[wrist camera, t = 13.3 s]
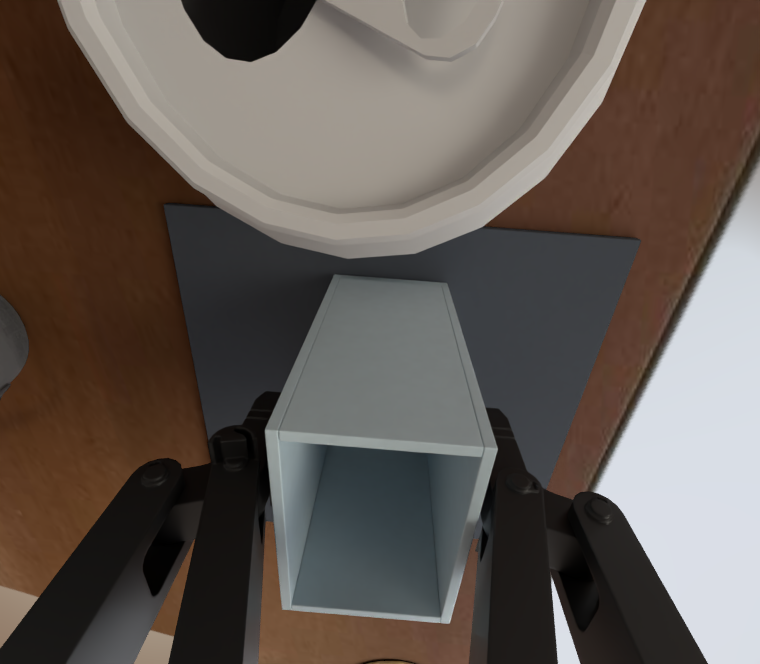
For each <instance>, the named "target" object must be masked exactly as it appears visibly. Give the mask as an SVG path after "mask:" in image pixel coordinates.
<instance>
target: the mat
mask: <svg viewBox="0 0 760 664" xmlns="http://www.w3.org/2000/svg"><path fill="white" fill-rule="evenodd" d="M164 210H165V215H166V221H167V226H168V231H169V236H170V242H171V247H172V252H173V257H174V263H175V268H176V273H177V278H178V284H179V289H180V294H181V299H182V305H183V310H184V315H185V320H186V326H187V331H188V336H189V341H190V347H191V352H192V357H193V362H194V368H195V373H196V378H197V383H198V389H199V394H200V399H201V404H202V410H203V415H204V420H205V425H206V430H207V436H208V441H209V439H210V438H211V436H212V435H213V434H215V433H216V432H217V431H218V430H220V429H223V428H225V427H228V426H233V425H242V424H243V422H244V420H245V419H246V416H247V414H248V413H249V411H250V409H251V407H252V405H253V403H254V401H255V399H256V398H258V397H259V396H260V395H261V394H263V393H264V392H265V391H273V392H282V390H283V388H284V386H285V384H286V381H287V379H288V377H289V375H290V372H291V370H292V368H293V366H294V363H295V361H296V359H297V357H298V354H299V352H300V350H301V348H302V346H303V343H304V341H305V339H306V337H307V334H308V332H309V330H310V328H311V325H312V323H313V321H314V319H315V316H316V314H317V312H318V310H319V308H320V305H321V303H322V301H323V299H324V296H325V294H326V292H327V290H328V287H329V285H330V283H331V281H332V279H333V276H334V275H335V274H336V275H349V276H362V277H375V278H389V279H402V280H415V281H428V282H440V283H447V284H448V288H449V291H450V294H451V297H452V301H453V304H454V307H455V310H456V314H457V317H458V320H459V324H460V327H461V330H462V333H463V337H464V340H465V343H466V346H467V350H468V353H469V356H470V360H471V363H472V366H473V369H474V373H475V376H476V379H477V383H478V386H479V389H480V392H481V396H482V399H483V402H484V405H485V408H498V409H500V410H501V412H502V413H503V414H504V415H505V416H506V417H507V418H508V420H509V423H510V426H511V428H512V431H513V434H514V436H515V440H516V442H517V444H518V447H519V450H520V453H521V455H522V458H523V461H524V463H525V466H526V469H527V471H528V472H529V473H530V474H532V475H533V476H535V477H536V478H537V480H538V481H539V482H540V483H541V486H542V488H544V489H545V490H546V488H547V486H548V483H549V481H550V478H551V475H552V473H553V470H554V467H555V465H556V462H557V460H558V457H559V454H560V452H561V449H562V447H563V444H564V441H565V439H566V436H567V433H568V431H569V428H570V426H571V423H572V420H573V418H574V415H575V413H576V410H577V407H578V405H579V402H580V399H581V397H582V394H583V392H584V389H585V386H586V384H587V381H588V378H589V376H590V373H591V371H592V368H593V365H594V363H595V360H596V358H597V355H598V352H599V350H600V347H601V344H602V342H603V339H604V337H605V334H606V331H607V329H608V326H609V324H610V321H611V318H612V316H613V313H614V310H615V308H616V305H617V303H618V300H619V297H620V295H621V292H622V290H623V287H624V284H625V282H626V279H627V276H628V274H629V271H630V269H631V266H632V263H633V261H634V258H635V256H636V253H637V250H638V248H639V245H640V242H641V240H640V239H637V238H630V237H617V236H604V235H590V234H577V233H564V232H550V231H537V230H524V229H510V228H497V227H484V226H483V227H481V228H479V229H476V230H474V231H471V232H469V233H466V234H464V235H461V236H459V237H456V238H454V239H451V240H448V241H446V242H443V243H441V244H438V245H436V246H433V247H431V248H428V249H426V250H423V251H421V252H418V253H416V254H405V255H391V256H378V257H365V258H351V259H347V258H342V257H338V256H334V255H330V254H325V253H321V252H317V251H313V250H308V249H304V248H300V247H295V246H291V245H287V244H283V243H280V242H278V241H277V240H275V239H273V238H271V237H269V236H268V235H266V234H264V233H262V232H261V231H259V230H257V229H255V228H254V227H252V226H250V225H248V224H247V223H245V222H243V221H241V220H240V219H238V218H236V217H234V216H233V215H231V214H229V213H227V212H226V211H224V210H222V209H220V208H219V207H217V206H204V205H190V204H177V203H166V204H164ZM265 516H266V521H271V522H274V521H273V511H272V506H270V497H269V498H268V500H267V503H266V506H265ZM482 526H483V524H482V519H481V514H480V515H479V518H478V522H477V526H476V529H475V533H474V537H473V538H475V539H479V536H480V533H481V530H482Z"/></svg>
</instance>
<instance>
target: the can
mask: <svg viewBox="0 0 760 664" xmlns="http://www.w3.org/2000/svg"><path fill="white" fill-rule="evenodd" d="M57 1H58V4H59V6H60V9H61V12H62V14H63V17H64V20H65V23H66V25H67V28H68V30H69V31H70V33H71V35H72V36H73V38H74V39H75V41H76V43H77V44H78V46H79V47H80V49H81V50H82V52H83V54H84V55H85V57H86V58H87V60H88V61H89V63H90V65H91V66H92V68H93V69H94V71H95V73H96V74H97V76H98V77H99V79H100V80H101V82H102V84H103V85H104V87H105V88H106V90H107V91H108V93H109V95H110V96H111V98H112V99H113V101H114V103H115V104H116V106H117V107H118V109H119V110H120V112H121V114H122V115H123V117H124V118H125V120H126V121H127V123H128V124H129V125H130V126H131V127H132V128H133V129H134V130H135V131H136V132H137V133H138V134H139V135H140V136H141V137H142V138H143V139H144V140H145V141H146V142H147V143H148V144H149V145H150V146H152V147H153V148H154V149H155V150H156V151H157V152H158V153H159V154H160V155H161V156H162V157H163V158H164V159H165V160H166V161H167V162H168V163H169V164H170V165H171V166H172V167H173V168H174V169H175V170H176V171H177V172H178V173H179V174H180V175H181V176H182V177H183V178H184V179H185V180H186V181H187V182H188V183H189V184H190V185H191V186H192V187H193V188H194V189H196V190H198V191H200V192H201V193H203V194H205V195H206V196H207V197H208V198H209V199H210V200H211V201H212V202H213V203H214V204H215V205H216V206H217V207H219V208H220V209H222V210H224V211H226V212H227V213H229V214H231V215H233V216H234V217H236V218H238V219H240V220H241V221H243V222H245V223H247V224H248V225H250V226H252V227H254V228H255V229H257V230H259V231H261V232H262V233H264V234H266V235H268V236H269V237H271V238H273V239H275V240H277V241H278V242H280V243H283V244H287V245H291V246H295V247H300V248H304V249H308V250H313V251H317V252H321V253H325V254H330V255H334V256H338V257H342V258H347V259H351V258H365V257H378V256H391V255H405V254H416V253H418V252H421V251H423V250H426V249H428V248H431V247H433V246H436V245H438V244H441V243H443V242H446V241H448V240H451V239H454V238H456V237H459V236H461V235H464V234H466V233H469V232H471V231H474V230H476V229H479V228H481V227H483V226H484V225H485V224H487V223H488V222H489V221H490V220H492V219H493V218H494V217H496V216H497V215H498V214H499V213H501V212H502V211H503V210H504V209H506V208H507V207H508V206H510V205H511V204H512V203H513V202H515V201H516V200H517V199H519V198H520V197H521V196H522V195H524V194H525V193H526V192H528V191H529V190H530V189H531V188H533V187H534V186H535V185H536V184H538V183H539V182H540V181H542V180H543V179H544V178H545V177H546V176H547V175H548V173H549V172H550V171H551V169H552V168H553V167H554V165H555V164H556V163H557V161H558V160H559V159H560V157H561V156H562V155H563V153H564V152H565V151H566V149H567V148H568V147H569V145H570V144H571V143H572V142H573V140H574V139H575V138H576V136H577V135H578V134H579V132H580V131H581V130H582V128H583V127H584V126H585V124H586V123H587V122H588V120H589V119H590V118H591V116H592V115H593V114H594V112H595V111H596V110H597V108H598V107H599V106H600V104H601V103H602V101H603V99H604V97H605V94H606V92H607V90H608V87H609V85H610V83H611V80H612V78H613V76H614V74H615V71H616V69H617V67H618V64H619V62H620V60H621V57H622V55H623V53H624V50H625V48H626V46H627V43H628V41H629V39H630V36H631V34H632V32H633V29H634V27H635V25H636V22H637V20H638V18H639V15H640V13H641V11H642V8H643V6H644V4H645V2H646V0H57Z"/></svg>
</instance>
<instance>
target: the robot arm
mask: <svg viewBox="0 0 760 664" xmlns="http://www.w3.org/2000/svg"><path fill="white" fill-rule="evenodd" d="M280 395H281V392H273V391H265V392H264V393H263V394H261V395H260V396H259V397H258V398H256V399H255V401H254V403H253V405H252V407H251V409H250V411H249V413H248V414H247V416H246V419H245V420H244V422H243V424H242V425H233V426H228V427H225V428H223V429H220V430H218V431H217V432H216V433H215V434H213V435H212V436H211V438H210V439H209V441H208V448H209V453H210V458H211V463H209V464H205V465H201V466H196V467H190V468H184V469H182V468H181V464H180V463H178V462H177V461H176V460H173V459H169V458H164V459H157V460H153V461H150V462H148V463H146V464H144V465H143V466H141V467H139V468H138V469H137V470H136V471H135V472H134V473H133V474H132V475H131V476H130V478H129V479H128V480H127V482H126V483H125V484H124V486H123V487H122V488H121V490H120V491H119V492H118V494H117V495H116V496H115V498H114V499H113V500H112V502H111V503H110V504H109V505H108V507H107V508H106V509H105V511H104V512H103V513H102V515H101V516H100V517H99V519H98V520H97V521H96V523H95V524H94V525H93V527H92V528H91V529H90V531H89V532H88V533H87V535H86V536H85V537H84V539H83V540H82V541H81V543H80V544H79V545H78V547H77V548H76V549H75V550H74V552H73V553H72V554H71V556H70V557H69V558H68V560H67V561H66V562H65V564H64V565H63V566H62V568H61V569H60V570H59V572H58V573H57V574H56V576H55V577H54V578H53V580H52V581H51V582H50V584H49V585H48V586H47V588H46V589H45V590H44V592H43V593H42V594H41V596H40V597H39V598H38V600H37V601H36V602H35V603H34V605H33V606H32V608H31V609H30V610H29V611H28V613H27V614H26V615H25V617H24V618H23V619H22V621H21V622H20V623H19V625H18V626H17V627H16V629H15V630H14V631H13V633H12V634H11V635H10V637H9V638H8V639H7V641H6V642H5V643H4V644H3V646H2V647H1V648H0V664H134V662H135V660H136V658H137V655H138V653H139V651H140V649H141V647H142V645H143V643H144V641H145V639H146V637H147V635H148V633H149V631H150V629H151V627H152V625H153V623H154V621H155V619H156V617H157V614H158V612H159V610H160V608H161V606H162V604H163V602H164V600H165V598H166V596H167V594H168V592H169V590H170V588H171V586H172V584H173V581H174V579H175V577H176V575H177V573H178V571H179V569H180V567H181V565H182V563H183V561H184V559H185V557H186V555H187V553H188V551H189V549H190V546H191V544H192V542H193V540H194V539H195V543H194V548H193V553H192V557H191V562H190V566H189V571H188V576H187V580H186V585H185V589H184V594H183V598H182V603H181V608H180V612H179V617H178V621H177V626H176V631H175V635H174V640H173V645H172V649H171V654H170V658H169V663H168V664H258V655H259V636H260V617H261V598H262V579H263V560H264V541H265V522H266V516H265V506H266V503H267V500H268V498H269V497H270V506H272V501H271V490H270V480H269V470H268V460H267V449H266V439H265V428H266V426H267V424H268V421H269V419H270V417H271V415H272V413H273V410H274V408H275V406H276V404H277V401H278V399H279V397H280ZM485 409H486V412H487V415H488V419H489V422H490V425H491V428H492V432H493V435H494V438H495V441H496V445H497V448H498V450H497V453H496V457H495V461H494V464H493V468H492V472H491V475H490V479H489V482H488V486H487V490H486V493H485V497H484V500H483V504H482V508H481V511H480V514H481V519H482V524H483V526H482V530H481V533H480V536H479V540H478V543H477V547H476V550H475V551H477V552H478V563H477V574H476V586H475V598H474V610H473V622H472V634H471V645H470V657H469V664H558V660H557V648H556V636H555V625H554V613H553V600H552V588H551V577H550V572H551V575H552V578H553V581H554V584H555V587H556V590H557V593H558V596H559V599H560V602H561V605H562V608H563V612H564V615H565V617H566V621H567V624H568V627H569V630H570V633H571V636H572V639H573V642H574V645H575V648H576V651H577V654H578V657H579V661H580V663H581V664H708V663H707V661H706V659H705V658H704V656H703V654H702V652H701V651H700V649H699V647H698V645H697V643H696V642H695V640H694V638H693V636H692V635H691V633H690V631H689V629H688V627H687V626H686V624H685V622H684V620H683V619H682V617H681V615H680V613H679V612H678V610H677V608H676V606H675V604H674V603H673V601H672V599H671V597H670V596H669V594H668V592H667V590H666V589H665V587H664V585H663V584H662V581H661V580H660V578H659V576H658V574H657V573H656V571H655V569H654V567H653V566H652V564H651V562H650V560H649V558H648V557H647V555H646V553H645V551H644V550H643V548H642V546H641V544H640V543H639V541H638V539H637V537H636V535H635V534H634V532H633V530H632V528H631V527H630V525H629V523H628V521H627V519H626V518H625V516H624V514H623V513H622V511H621V510H620V509H619V508H618V506H617V505H616V504H614V503H613V502H612V501H611V500H609V499H608V498H606V497H604V496H602V495H600V494H597V493H593V492H580V493H579V494H577V495H575V497H574V499H573V500H572V499H569V498H566V497H563V496H560V495H557V494H554V493H552V492H549V491H547V490H545V489H544V488H542V486H541V483H540V482H539V481H538V480H537V478H536V477H535V476H533V475H532V474H530V473H529V472H528V471H527V469H526V466H525V463H524V461H523V458H522V455H521V453H520V450H519V447H518V444H517V442H516V440H515V436H514V434H513V431H512V428H511V426H510V423H509V420H508V418H507V417H506V416H505V415H504V414H503V413H502V412H501V410H500V409H498V408H485Z"/></svg>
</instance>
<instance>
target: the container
mask: <svg viewBox="0 0 760 664" xmlns="http://www.w3.org/2000/svg"><path fill="white" fill-rule="evenodd" d="M265 439H266V449H267V460H268V470H269V480H270V490H271V501H272V511H273V521H274V531H275V542H276V552H277V562H278V572H279V582H280V593H281V603H282V609H283V610H295V611H306V612H318V613H330V614H342V615H353V616H365V617H377V618H388V619H400V620H412V621H423V622H435V623H439V622H440V623H447V624H449V623H450V620H451V616H452V612H453V609H454V605H455V601H456V598H457V594H458V591H459V587H460V583H461V580H462V576H463V573H464V569H465V565H466V562H467V558H468V555H469V551H470V547H471V544H472V540H473V537H474V533H475V529H476V526H477V522H478V518H479V515H480V511H481V508H482V504H483V500H484V497H485V493H486V490H487V486H488V482H489V479H490V475H491V472H492V468H493V464H494V461H495V457H496V453H497V450H498V448H497V445H496V441H495V438H494V435H493V432H492V428H491V425H490V422H489V419H488V415H487V412H486V409H485V405H484V402H483V399H482V396H481V392H480V389H479V386H478V383H477V379H476V376H475V373H474V369H473V366H472V363H471V360H470V356H469V353H468V350H467V346H466V343H465V340H464V337H463V333H462V330H461V327H460V324H459V320H458V317H457V314H456V310H455V307H454V304H453V301H452V297H451V294H450V291H449V288H448V284H447V283H440V282H428V281H415V280H402V279H389V278H375V277H362V276H349V275H336V274H335V275H334V276H333V279H332V281H331V283H330V285H329V287H328V290H327V292H326V294H325V296H324V299H323V301H322V303H321V305H320V308H319V310H318V312H317V314H316V316H315V319H314V321H313V323H312V325H311V328H310V330H309V332H308V334H307V337H306V339H305V341H304V343H303V346H302V348H301V350H300V352H299V354H298V357H297V359H296V361H295V363H294V366H293V368H292V370H291V372H290V375H289V377H288V379H287V381H286V384H285V386H284V388H283V390H282V392H281V395H280V397H279V399H278V401H277V404H276V406H275V408H274V410H273V413H272V415H271V417H270V419H269V421H268V424H267V426H266V428H265Z"/></svg>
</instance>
